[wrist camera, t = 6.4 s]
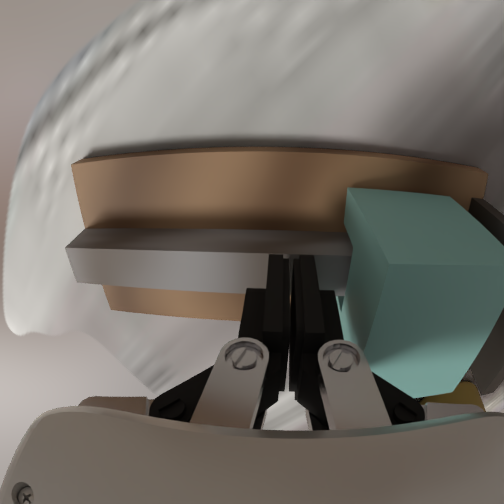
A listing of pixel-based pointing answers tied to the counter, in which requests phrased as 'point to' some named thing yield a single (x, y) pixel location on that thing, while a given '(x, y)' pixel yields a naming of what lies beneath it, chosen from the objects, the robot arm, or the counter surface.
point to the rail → (244, 224)
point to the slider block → (419, 287)
